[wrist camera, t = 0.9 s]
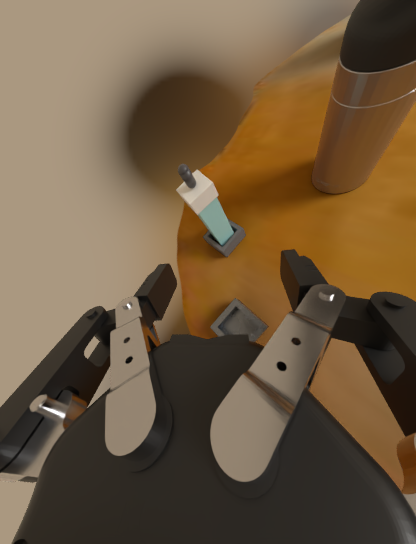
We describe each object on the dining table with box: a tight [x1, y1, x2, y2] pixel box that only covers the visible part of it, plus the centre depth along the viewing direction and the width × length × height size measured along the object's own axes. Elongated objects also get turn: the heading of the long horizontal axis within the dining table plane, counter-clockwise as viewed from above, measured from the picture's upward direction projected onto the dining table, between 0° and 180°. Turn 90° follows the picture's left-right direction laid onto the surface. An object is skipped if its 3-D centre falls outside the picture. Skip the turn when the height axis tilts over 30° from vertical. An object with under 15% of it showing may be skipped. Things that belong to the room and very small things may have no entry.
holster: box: [203, 219, 246, 257], centre depth 36 cm, size 6×6×3 cm
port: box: [210, 298, 269, 342], centre depth 29 cm, size 7×7×4 cm
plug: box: [176, 164, 234, 247], centre depth 29 cm, size 4×4×20 cm
